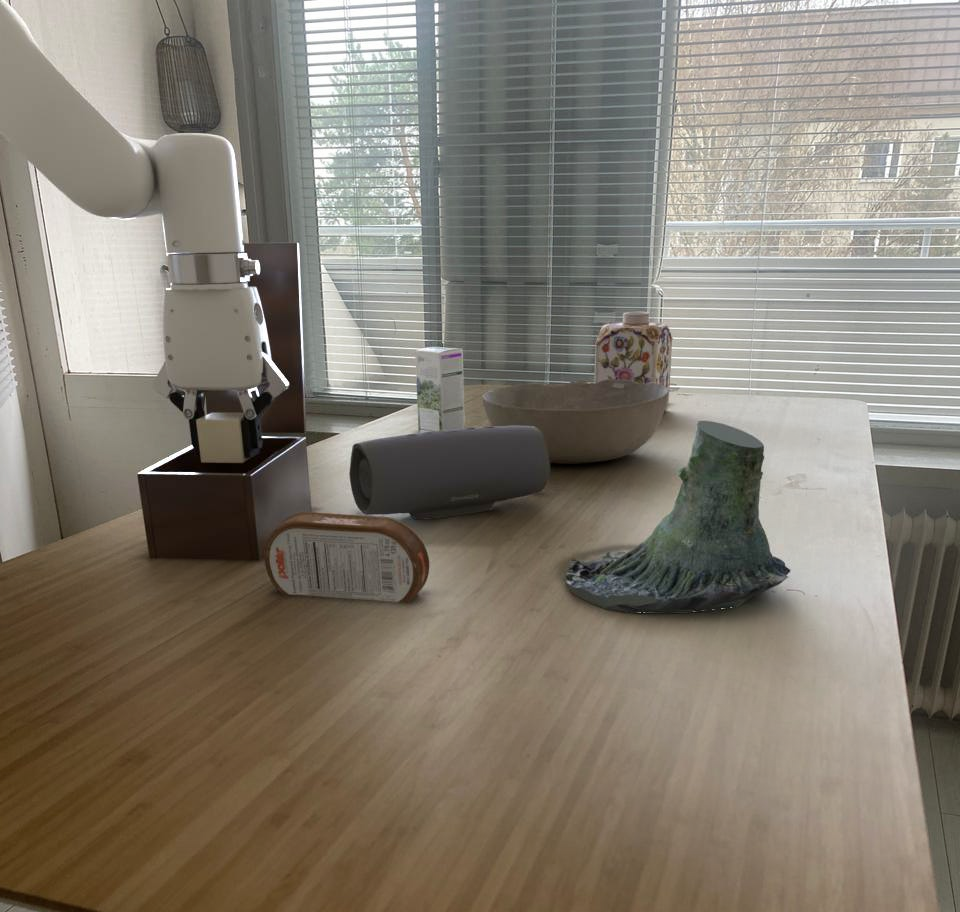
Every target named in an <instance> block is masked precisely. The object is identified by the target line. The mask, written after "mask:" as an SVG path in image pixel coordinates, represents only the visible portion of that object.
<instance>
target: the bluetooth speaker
mask: <svg viewBox="0 0 960 912" xmlns="http://www.w3.org/2000/svg"><path fill="white" fill-rule="evenodd" d="M348 474H349V475H348V476H349V482H350V483H349V484H350V488H351V494H352V497H353V500H354V502H355V505H356V507H357V509H358V510H359V511H361V512H362V514H364V515H366V516H377V515H378V516H380V515H381V516H382V515H398V514H409V515H410V517H411V518H412V517H414V518H413V519H415V518H416V519H415V520H426V519H425V518H432V519H438V518H437V517H442V518H446V517H445V516H449V517H456V516H462V515H463V516H464V515H471V514H476V512H478V513H483V512H487V511H486V510H488V511H491V510H493V507H494V503H497V502H502V501H503V502H504V501H507V500H512V499H517V498H523V497H527V496H530V495H534V494H538V493H540V492H542V491H544V490H545V488H546V487H547V485H548V483H549V480H550V476H551V463H550V461H549V455H548V450H547V446H546V442H545V439H544V436H543V434H542V432H541V431H540V430H539V429H538V428H536V427H534V426H494V427H492V426H491V425H490V426H481V427H480V426H479V427H478V426H477V427H467V428H466V427H465V428H464V429H446V430H440V431H432V432H424V433H419V432H417V433H409V434H404V435H403V434H401V435H394V436H387V437H380V438H379V437H378V438H375V439H369V440H365V441H361V442H356V443H354V444H353V445H352V447H351V454H350V464H349V473H348ZM490 509H491V510H490ZM482 511H483V512H482Z"/></svg>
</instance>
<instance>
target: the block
mask: <svg viewBox="0 0 960 912" xmlns="http://www.w3.org/2000/svg"><path fill="white" fill-rule="evenodd" d="M205 415H206V416H203V417H201V418H199V419H197V420H196V423H197V432H198V440H199V448H200V456H201V462H202V463H243V462H244V461H246V460H248V459H249V458H246V457H245V456H244V450H243V440H242V431H241V421H242V420H243V419H244V413H210V414H208V415H207V414H205Z"/></svg>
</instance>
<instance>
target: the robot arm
mask: <svg viewBox="0 0 960 912" xmlns="http://www.w3.org/2000/svg"><path fill="white" fill-rule="evenodd" d="M0 135H2V136H3V138H4V139H5V140H6V141H7V142H9V144H10V145H12V147H14V148H15V150H17V152H18V153H20V154H21V156H23V157H24V158H25V159H26V160H27V161H28V162H29V163H30V164H31V165H32V166H33V167H34V168H35V169H37V171H39V172H40V174H42V175H43V176H44V177H45V178H46V179H47V180H48V181H49V182H50V183H51V184H52V185H53V186H54V187H55V188H57V190H58V191H59V192H61V193H62V194H63V195H64V196H65V197H66V198H68V199H69V200H70V201H71V202H72V203H73V204H74V205H76V206H77V207H79V208H80V209H82V210H83V211H85V212H87V213H89V214H91V215H94V216H97V217H100V218H101V217H102V218H109V219H115V220H134V219H141V218H146V217H153V216H159V215H160V216H161V221H162V229H163V235H164V236H163V237H164V243H165V252H166V260H167V270H168V275H169V282H170V287H168V288H165V289H164V299H163V312H162V313H163V314H162V315H163V318H162V320H163V321H162V323H163V324H162V325H163V327H162V328H163V329H162V330H163V346H164V347H163V350H164V362H163V364H162V365H161V368H160V370H159V371H158V373H157V375H156V377H155V379H154V380H153V383H152V388H153V389H154V391H156V392H158V393H159V394H160V395H162V396H163V397H165V398H166V399H168V400H169V401H170V402H171V404H173V405H174V407H176V408H177V409H178V410H179V411H180V412H181V413H182V415H183V417H184V418H185V419H186V420H188V425H189V433H190V441H191V442H190V443H191V445H192V446H193V448H196V455H197V457H201V456H200V448H199V440H198V432H197V423H196V420H197V419H199V418H201V417H203V416H206V415H207V414H206V411H205V404H206V396H205V395H206V390H236V391H237V394H238V397H239V400H240V403H241V406H242V409H243V412H244V419H243V420H242V421H241V431H242V440H243V450H244V456H245V457H246V458H252V457H254V456H255V455H257V454H258V453H259V451H260V448H261V447H262V444H263V441H262V437H263V433H262V431H261V421H260V415H262V414H263V412H264V411H265V410H266V408H267V407H268V406H269V405H270V404H271V403H272V401H273V400H274V399H275V398H277V397H278V396H279V395H280V394H282V393H283V392H284V391H285V390H286V389H288V387H289V383H288V381H287V380H286V378H285V377H284V376H283V375H282V373H281V372H280V371H279V370H278V368H277V367H276V366H275V364H274V363H273V362H272V358H271V351H270V345H269V339H268V334H267V328H266V323H265V318H264V314H263V309H262V305H261V301H260V298H259V294H258V291H257V288H256V287H248V282H247V281H249V276H252V275H253V274H259V273H260V265H259V262H258V260H251V259H248V257H247V254H246V253H244V243H245V242H244V233H243V224H242V211H241V204H240V203H241V201H240V192H239V183H238V172H237V161H236V154H235V150H234V147H233V144H231V142H230V141H229V140H228V139H226V138H225V137H224V136H221V135H217V134H211V133H203V132H201V133H199V132H182V133H181V132H180V133H179V132H177V133H171V134H165V135H163V136H160V137H159V138H158V139H145V138H137V137H131V136H129V135H126V134H125V133H123V132H121V131H120V130H119V129H118V128H116V126H114V124H113V123H111V122H110V120H108V119H107V118H106V117H105V116H104V115H103V114H102V112H100V110H98V109H97V108H96V107H95V106H94V105H93V104H92V103H91V102H90V101H89V100H88V99H87V98H86V96H84V95H83V94H82V93H81V92H80V90H78V88H76V86H75V85H74V84H72V83H71V82H70V81H69V79H67V77H66V76H65V75H64V74H63V73H62V72H61V71H60V70H59V69H58V68H57V67H56V65H54V63H53V62H52V61H51V60H50V59H49V58H48V57H47V56H46V54H45V53H44V52H43V51H42V49H41V48H40V46H39V45H38V44H37V42H36V41H35V38H34V37H33V35H32V33H31V31H30V28H29V27H28V25H27V23H26V22H25V21H24V19H23V18H22V17H21V16H20V15H19V13H18V12H17V11H16V10H15V9H14V7H12V6H11V5H10V4H9V3H8V2H7V1H6V0H0ZM267 382H270V386H269V387H268V388H267V389H266V390H265V391H264V392H263V393H261V394H260V395H259V393H258V390H257V387H258V386H259V385H261V384H265V383H267Z"/></svg>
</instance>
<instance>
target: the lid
mask: <svg viewBox="0 0 960 912" xmlns="http://www.w3.org/2000/svg"><path fill="white" fill-rule="evenodd" d="M244 253H246V254H247V257H248V259H251V260H258V262H259V265H260V273H259V274H253V275H252V276H249V281H247V282H248V287H256V288H257V291H258V294H259V298H260V301H261V305H262V309H263V314H264V318H265V323H266V328H267V334H268V339H269V345H270V351H271V358H272V362H273V363H274V364H275V366H276V367H277V368H278V370H279V371H280V372H281V373H282V375H283V376H284V377H285V378H286V380H287V381H288V383H289V387H288V389H286V390H285V391H284V392H283V393H282V394H280V395H279V396H278V397H277V398H275V399H274V400H273V401H272V403H271V404H270V405H269V406H268V407H267V408H266V410H265V411H264V412H263V414H262V415H260V421H261V431H262V434H267V433H268V434H306V433H307V413H306V412H307V411H306V385H305V363H304V361H305V360H304V339H303V338H304V337H303V313H302V312H303V311H302V309H303V308H302V287H301V264H300V263H301V262H300V261H301V260H300V259H301V258H300V243H298V242H244ZM269 386H270V382H267V383H265V384H261V385H259V386H258V387H257V390H258V393H259V395H260V394H261V393H263V392H264V391H265V390H266V389H267V388H268V387H269ZM205 407H206V408H205V409H206V411H205V412H206V415H208V414H210V413H244V412H243V409H242V406H241V403H240V400H239V397H238V394H237V391H236V390H206V395H205Z"/></svg>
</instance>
